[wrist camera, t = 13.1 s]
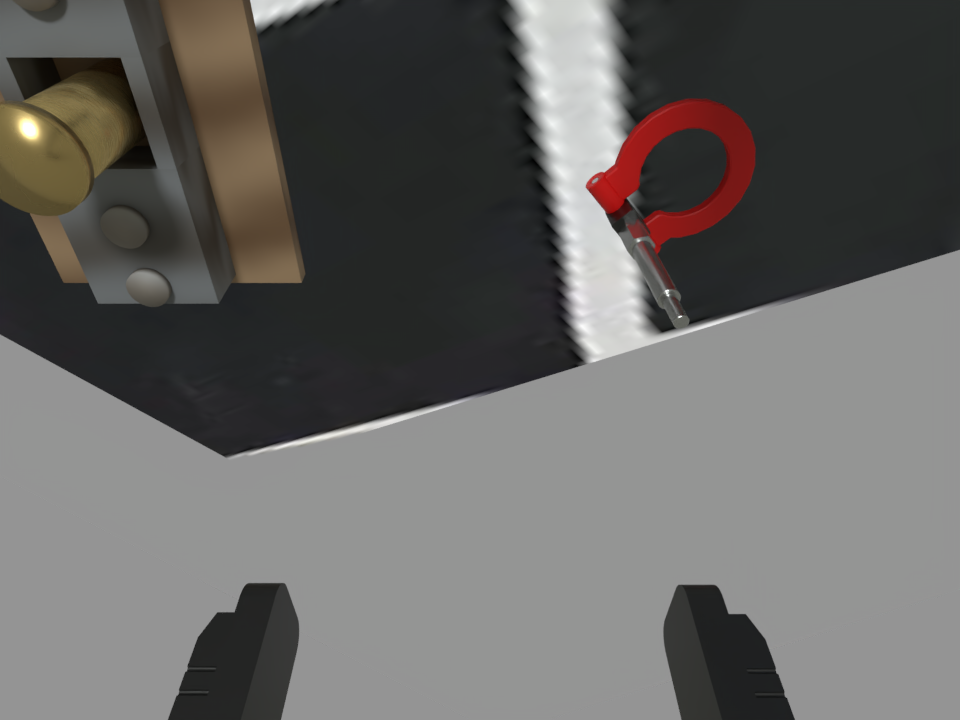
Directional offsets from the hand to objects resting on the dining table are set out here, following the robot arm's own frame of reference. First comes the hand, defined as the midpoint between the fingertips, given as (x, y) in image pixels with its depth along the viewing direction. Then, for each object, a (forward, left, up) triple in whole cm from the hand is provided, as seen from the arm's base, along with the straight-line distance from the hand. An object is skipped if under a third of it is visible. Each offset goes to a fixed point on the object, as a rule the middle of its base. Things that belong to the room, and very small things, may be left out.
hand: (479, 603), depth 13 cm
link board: (-2, -20, -30) cm, 36 cm away
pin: (-2, -20, -29) cm, 35 cm away
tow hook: (+3, +12, -30) cm, 33 cm away
